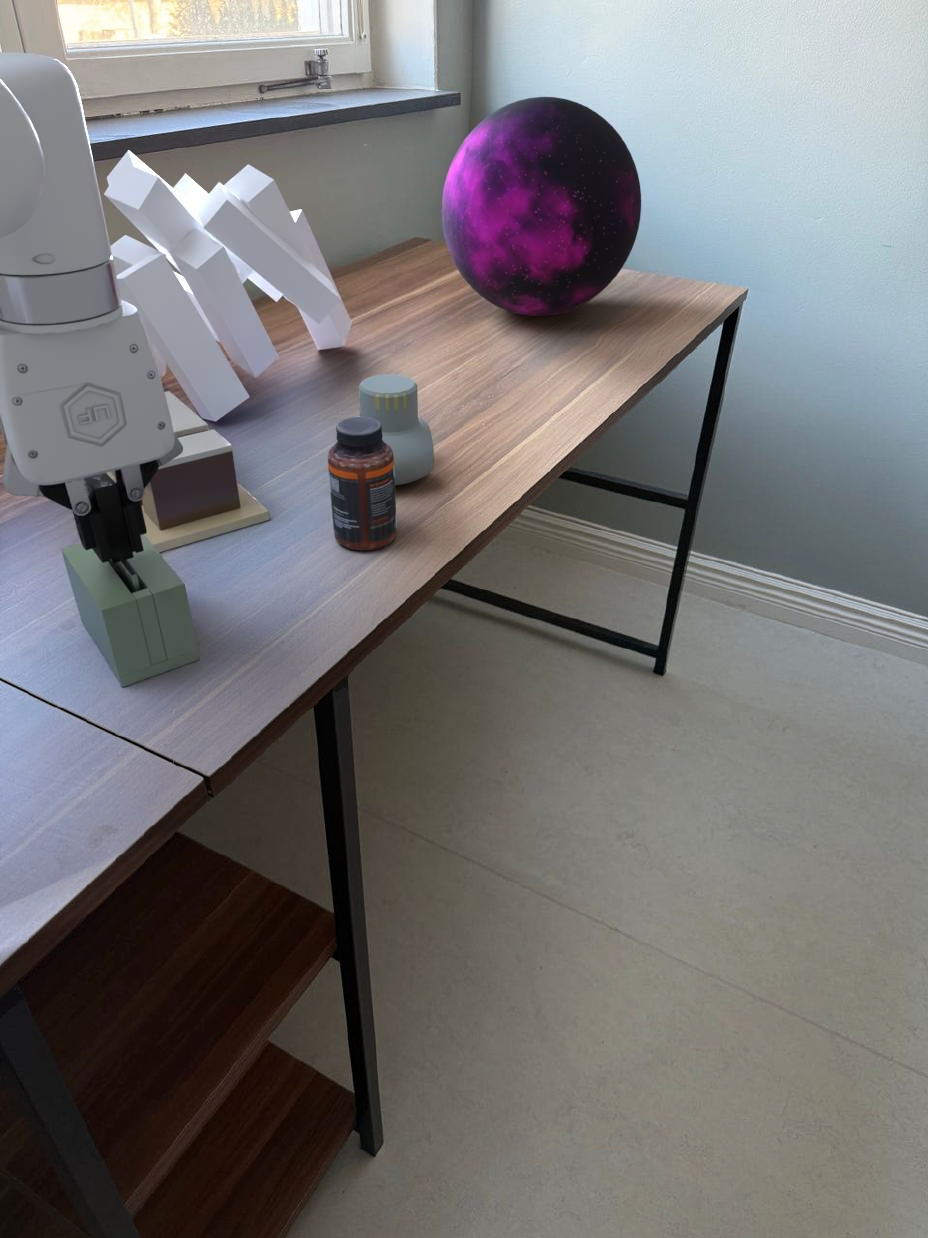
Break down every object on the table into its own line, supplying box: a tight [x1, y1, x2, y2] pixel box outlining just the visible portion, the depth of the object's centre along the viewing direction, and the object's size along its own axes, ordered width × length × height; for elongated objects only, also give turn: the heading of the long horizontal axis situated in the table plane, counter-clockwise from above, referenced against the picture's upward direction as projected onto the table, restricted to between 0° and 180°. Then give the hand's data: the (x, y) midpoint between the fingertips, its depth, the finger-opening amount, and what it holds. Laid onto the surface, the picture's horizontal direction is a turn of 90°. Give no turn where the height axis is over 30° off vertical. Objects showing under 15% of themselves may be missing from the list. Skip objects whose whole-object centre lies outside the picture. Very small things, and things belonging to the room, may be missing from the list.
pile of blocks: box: [103, 149, 353, 423], centre depth 109 cm, size 35×30×35 cm
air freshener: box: [358, 373, 435, 486], centre depth 92 cm, size 11×8×10 cm
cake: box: [107, 390, 271, 553], centre depth 87 cm, size 12×20×8 cm, turn 36°
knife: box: [83, 473, 140, 594], centre depth 66 cm, size 7×2×13 cm, turn 36°
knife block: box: [60, 534, 200, 688], centre depth 68 cm, size 10×6×7 cm, turn 36°
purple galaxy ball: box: [441, 96, 642, 317], centre depth 134 cm, size 30×30×30 cm
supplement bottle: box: [327, 416, 398, 551], centre depth 80 cm, size 6×6×11 cm
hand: (116, 547), depth 65 cm, fingers closed on knife, 1 cm apart
